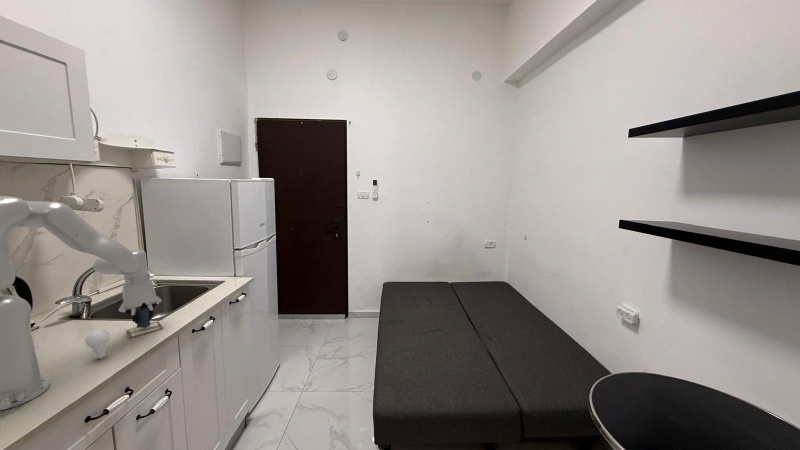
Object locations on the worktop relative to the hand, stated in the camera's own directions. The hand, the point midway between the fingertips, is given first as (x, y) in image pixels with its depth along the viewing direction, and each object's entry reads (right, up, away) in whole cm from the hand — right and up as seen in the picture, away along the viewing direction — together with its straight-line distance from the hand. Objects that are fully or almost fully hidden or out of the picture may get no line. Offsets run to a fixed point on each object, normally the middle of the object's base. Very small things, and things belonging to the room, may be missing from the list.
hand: (143, 320), depth 124 cm
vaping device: (0, -3, 0) cm, 3 cm away
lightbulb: (+1, -8, -18) cm, 20 cm away
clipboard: (-1, -5, +1) cm, 5 cm away
